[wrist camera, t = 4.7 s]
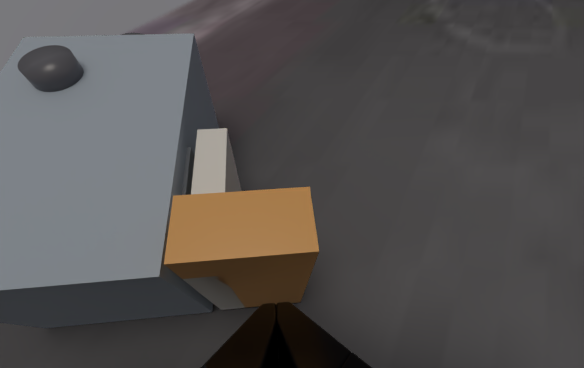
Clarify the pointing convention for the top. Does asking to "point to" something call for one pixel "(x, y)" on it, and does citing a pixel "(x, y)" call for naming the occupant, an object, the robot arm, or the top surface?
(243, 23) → the top surface
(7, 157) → the grey knobbed box
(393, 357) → the top surface
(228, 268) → the side door
